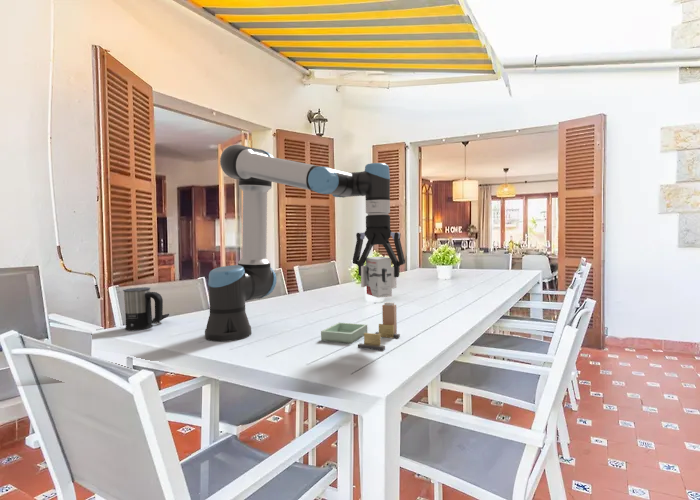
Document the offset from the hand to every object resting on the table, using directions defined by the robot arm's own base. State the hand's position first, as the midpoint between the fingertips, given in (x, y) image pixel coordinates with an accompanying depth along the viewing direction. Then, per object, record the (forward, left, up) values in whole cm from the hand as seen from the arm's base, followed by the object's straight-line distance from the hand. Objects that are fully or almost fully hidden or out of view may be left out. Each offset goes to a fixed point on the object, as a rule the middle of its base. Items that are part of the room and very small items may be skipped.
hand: (378, 287), depth 132 cm
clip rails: (0, 0, -17) cm, 17 cm away
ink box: (0, 0, -3) cm, 3 cm away
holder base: (0, 0, -17) cm, 17 cm away
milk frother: (-91, -7, -18) cm, 93 cm away
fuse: (0, +10, -17) cm, 20 cm away
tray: (-13, +2, -17) cm, 22 cm away
